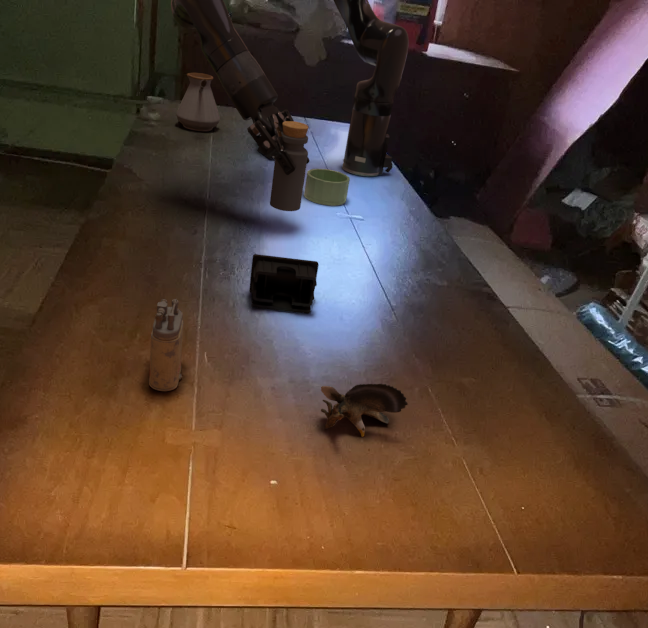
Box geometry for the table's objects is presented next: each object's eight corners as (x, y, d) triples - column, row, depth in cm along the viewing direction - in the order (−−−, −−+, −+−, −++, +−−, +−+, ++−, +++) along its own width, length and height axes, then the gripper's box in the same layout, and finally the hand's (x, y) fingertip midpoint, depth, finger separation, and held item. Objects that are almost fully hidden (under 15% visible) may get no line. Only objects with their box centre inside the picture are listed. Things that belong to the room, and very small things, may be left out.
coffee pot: (174, 119, 196) (177, 59, 188) (217, 123, 199) (222, 64, 191) (177, 141, 179) (180, 76, 171) (224, 146, 182) (229, 82, 174)
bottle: (269, 198, 140) (278, 118, 132) (299, 202, 141) (310, 122, 133) (270, 209, 135) (280, 126, 127) (301, 213, 136) (313, 131, 128)
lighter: (155, 360, 94) (158, 290, 88) (185, 363, 94) (189, 293, 89) (146, 390, 88) (149, 317, 82) (178, 394, 88) (183, 321, 83)
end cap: (311, 294, 117) (317, 255, 114) (313, 314, 111) (320, 274, 108) (249, 287, 116) (253, 247, 112) (248, 307, 110) (252, 266, 106)
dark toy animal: (351, 449, 82) (415, 422, 86) (333, 389, 81) (399, 364, 84) (322, 444, 89) (382, 419, 92) (305, 388, 88) (367, 365, 91)
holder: (335, 191, 164) (339, 169, 162) (352, 206, 157) (356, 183, 155) (297, 190, 161) (301, 167, 158) (313, 205, 154) (316, 182, 151)
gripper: (244, 78, 122) (299, 166, 126) (278, 68, 134) (328, 149, 137) (213, 104, 126) (268, 188, 130) (249, 92, 138) (298, 170, 141)
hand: (298, 168), depth 134 cm, fingers closed on bottle, 6 cm apart
